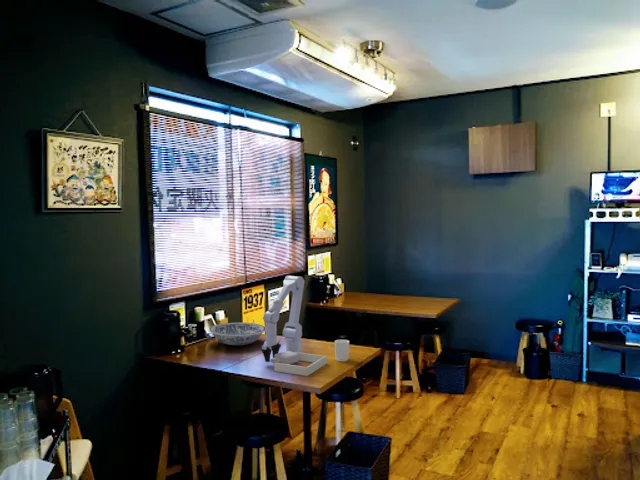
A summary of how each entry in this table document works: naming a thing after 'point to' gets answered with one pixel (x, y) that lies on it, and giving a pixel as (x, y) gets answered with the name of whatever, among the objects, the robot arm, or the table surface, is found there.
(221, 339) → the ceramic bowl
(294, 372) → the box
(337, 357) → the white cup
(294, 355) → the charger
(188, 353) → the table surface
